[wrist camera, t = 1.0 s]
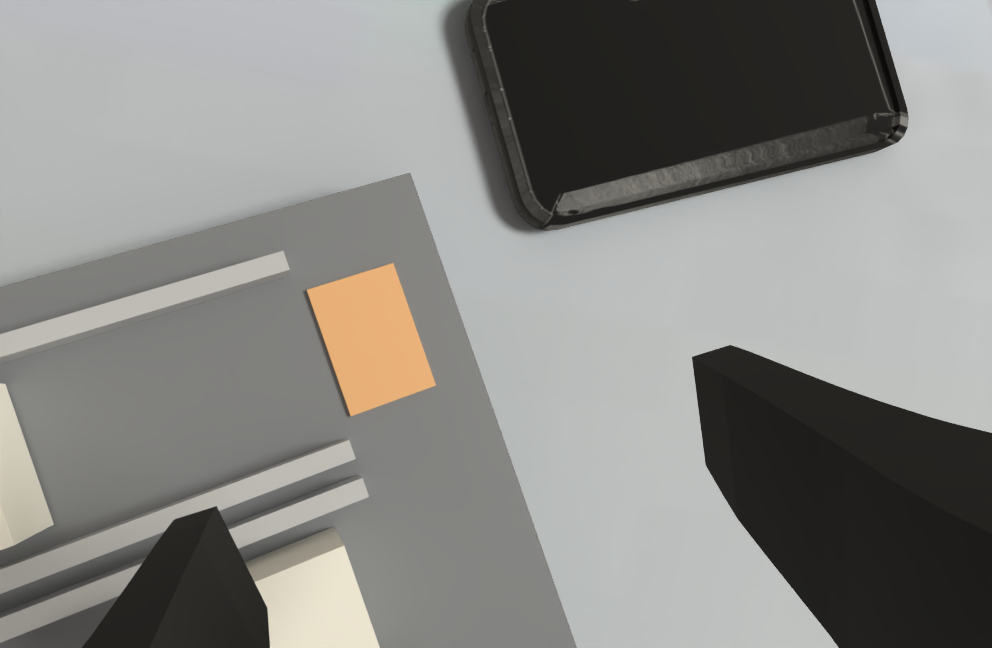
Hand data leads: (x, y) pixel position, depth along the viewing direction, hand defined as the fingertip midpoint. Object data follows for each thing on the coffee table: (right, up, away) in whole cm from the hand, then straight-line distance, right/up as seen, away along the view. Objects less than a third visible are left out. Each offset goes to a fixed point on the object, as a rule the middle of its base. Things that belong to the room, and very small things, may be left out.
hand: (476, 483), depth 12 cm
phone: (+7, +11, +16) cm, 20 cm away
